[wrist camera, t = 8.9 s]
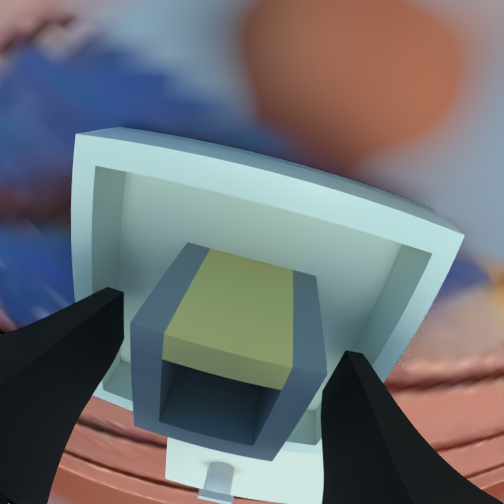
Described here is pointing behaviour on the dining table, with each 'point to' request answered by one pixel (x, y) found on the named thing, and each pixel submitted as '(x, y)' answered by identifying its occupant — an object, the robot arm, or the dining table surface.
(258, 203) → the tray
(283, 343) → the collar
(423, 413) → the dining table surface
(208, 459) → the base
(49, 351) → the robot arm
